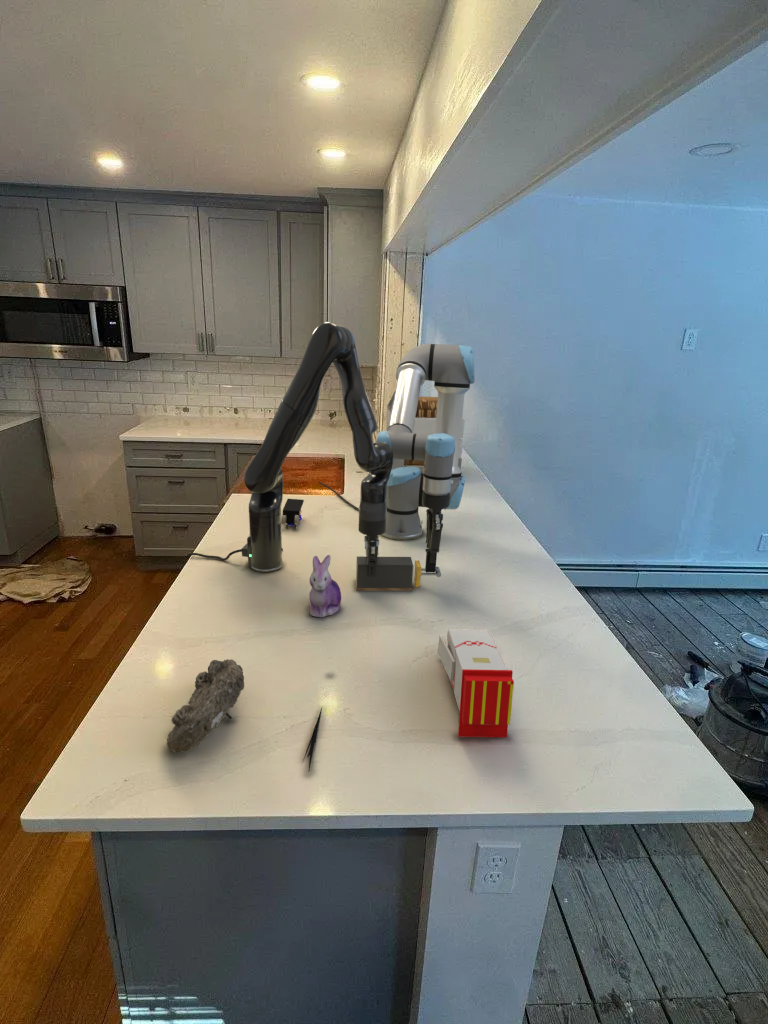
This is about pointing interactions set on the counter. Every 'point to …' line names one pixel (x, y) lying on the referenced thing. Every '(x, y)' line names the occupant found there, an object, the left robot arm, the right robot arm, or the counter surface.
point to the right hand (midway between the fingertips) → (430, 571)
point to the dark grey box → (385, 574)
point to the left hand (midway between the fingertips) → (370, 571)
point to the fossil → (206, 705)
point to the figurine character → (292, 512)
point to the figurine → (323, 590)
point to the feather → (313, 740)
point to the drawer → (418, 573)
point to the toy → (478, 682)
